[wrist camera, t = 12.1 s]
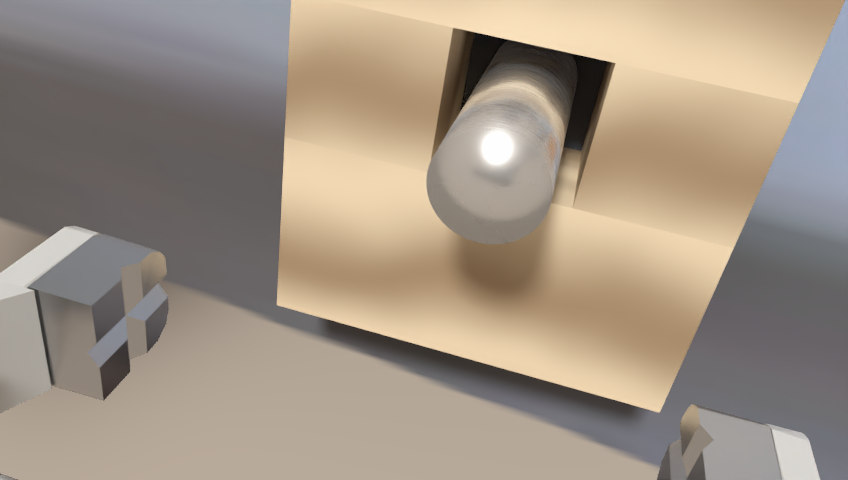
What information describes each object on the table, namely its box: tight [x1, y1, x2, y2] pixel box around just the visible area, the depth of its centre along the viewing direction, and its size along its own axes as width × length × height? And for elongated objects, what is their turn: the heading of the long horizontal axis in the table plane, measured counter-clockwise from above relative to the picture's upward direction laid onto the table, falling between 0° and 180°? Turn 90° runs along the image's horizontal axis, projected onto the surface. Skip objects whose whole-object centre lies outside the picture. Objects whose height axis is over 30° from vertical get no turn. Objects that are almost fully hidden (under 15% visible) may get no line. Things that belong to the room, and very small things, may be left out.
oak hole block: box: [277, 0, 845, 413], centre depth 22 cm, size 18×14×4 cm
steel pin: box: [426, 40, 578, 244], centre depth 21 cm, size 3×3×9 cm
